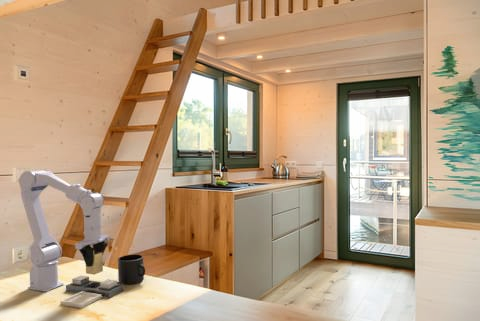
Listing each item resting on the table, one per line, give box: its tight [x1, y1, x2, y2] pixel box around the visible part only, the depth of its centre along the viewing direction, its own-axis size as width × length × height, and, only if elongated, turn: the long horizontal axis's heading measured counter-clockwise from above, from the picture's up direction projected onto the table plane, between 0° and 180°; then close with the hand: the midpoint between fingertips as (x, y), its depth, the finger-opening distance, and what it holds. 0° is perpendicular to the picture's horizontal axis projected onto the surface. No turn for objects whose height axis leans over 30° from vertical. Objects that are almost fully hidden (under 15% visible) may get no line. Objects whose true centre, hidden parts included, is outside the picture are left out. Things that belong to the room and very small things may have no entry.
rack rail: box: [65, 275, 124, 299], centre depth 132 cm, size 20×7×4 cm, turn 68°
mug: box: [117, 253, 146, 285], centre depth 141 cm, size 9×12×9 cm
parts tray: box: [60, 291, 103, 309], centre depth 123 cm, size 9×9×1 cm
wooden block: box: [85, 251, 104, 275], centre depth 132 cm, size 4×4×7 cm
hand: (93, 264), depth 132 cm, fingers closed on wooden block, 4 cm apart
